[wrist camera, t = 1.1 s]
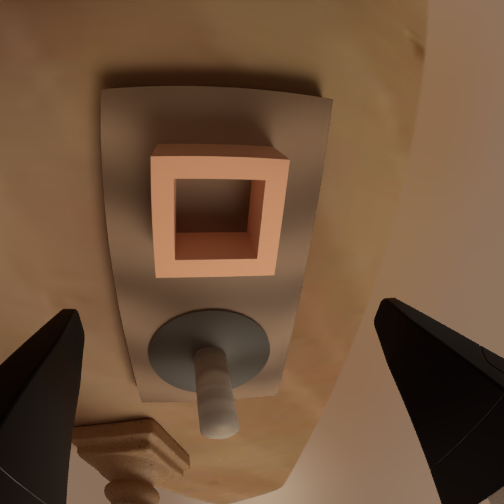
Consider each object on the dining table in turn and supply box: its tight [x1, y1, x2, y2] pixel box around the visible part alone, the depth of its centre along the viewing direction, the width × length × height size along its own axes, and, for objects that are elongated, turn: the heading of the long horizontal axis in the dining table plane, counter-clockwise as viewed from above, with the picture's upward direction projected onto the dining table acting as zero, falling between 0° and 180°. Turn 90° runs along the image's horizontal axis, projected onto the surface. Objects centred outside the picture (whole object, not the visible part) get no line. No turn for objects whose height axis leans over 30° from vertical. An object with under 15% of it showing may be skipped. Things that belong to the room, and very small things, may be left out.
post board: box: [101, 86, 333, 439], centre depth 18 cm, size 24×12×8 cm, turn 175°
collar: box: [151, 144, 290, 278], centre depth 16 cm, size 6×6×3 cm
